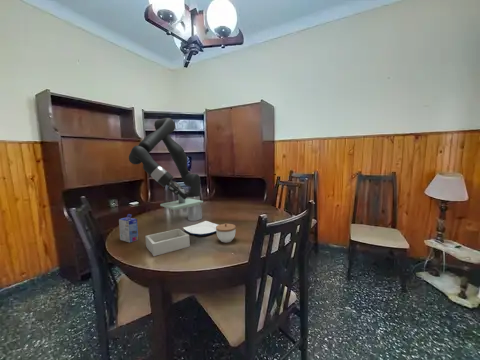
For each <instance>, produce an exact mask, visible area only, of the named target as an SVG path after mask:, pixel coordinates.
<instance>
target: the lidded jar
mask: <svg viewBox="0 0 480 360" xmlns="http://www.w3.org/2000/svg"><path fill="white" fill-rule="evenodd" d="M236 228H237V227H236V225H235V224H232V223H222V224H218V226H216V232H215V233H216V236H217V238H218V240H219V241H220V242H222V243H231V242H232V241H233V240H234V238H235V236H236V230H237V229H236Z"/></svg>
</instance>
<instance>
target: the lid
mask: <svg viewBox="0 0 480 360" xmlns="http://www.w3.org/2000/svg"><path fill="white" fill-rule="evenodd" d="M180 190H181V191H182V192H183V193H184V194H185V192H186V191H185V189H184V188H183V189H180ZM177 197H178V198H177V199H178V200H173V201H170V202H169V201H168V202H163V203H160V207H162V208H163V207H164V208H166V209H168V210H171V211H172V210H173V211H179V210H184V209H187V207H192V206H196V205H199V204H200V205H201V204H203V203H204V200H201V199H200V200H195V199H190V198H189V199H187V198H186V199H183V198H182V197H181V196H180V195H177Z"/></svg>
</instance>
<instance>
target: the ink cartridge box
mask: <svg viewBox="0 0 480 360" xmlns="http://www.w3.org/2000/svg"><path fill="white" fill-rule="evenodd" d="M132 216H133V214H132V213H131V214H130V213H128V214H127V216H126V217H122V218H119V219H118V224H119V225H118V226H119V228H118V229H119V240H120V241H123V242H127V243H133V242H137V241H138V240H139V231H138V230H139V227H138V219H137V218H135V217H134V218H133V217H132Z"/></svg>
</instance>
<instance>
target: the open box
mask: <svg viewBox="0 0 480 360" xmlns="http://www.w3.org/2000/svg"><path fill="white" fill-rule="evenodd" d="M144 238H145V247H146V248H147V250H148V251H149V252H150V254H152V256H153V257H156V256H160V255H163V254H169V253H172V252H174V251H178V250H181V249H186V248H189V247H191V243H190V234H189V233H188V232H186V231H185V230H183V229H181V228H176V229H170V230H167V231H162V232H161V231H160V232H157V233H152V234H148V235H145V236H144Z"/></svg>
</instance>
